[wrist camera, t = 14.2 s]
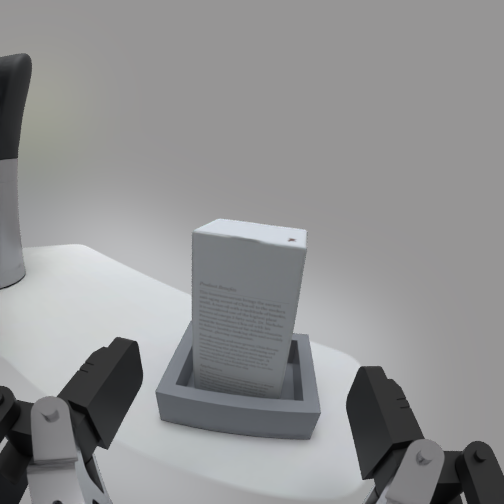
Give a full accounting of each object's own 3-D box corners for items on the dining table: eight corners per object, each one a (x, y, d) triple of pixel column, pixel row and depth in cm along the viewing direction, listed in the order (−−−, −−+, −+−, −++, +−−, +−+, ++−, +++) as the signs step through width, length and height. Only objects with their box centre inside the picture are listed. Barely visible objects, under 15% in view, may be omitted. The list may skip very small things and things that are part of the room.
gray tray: (161, 419, 16) (155, 391, 15) (191, 347, 24) (190, 320, 23) (309, 439, 15) (320, 412, 14) (301, 361, 24) (308, 334, 23)
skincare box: (283, 377, 21) (311, 229, 17) (275, 415, 17) (309, 247, 13) (210, 361, 22) (217, 216, 18) (191, 395, 18) (190, 229, 14)
